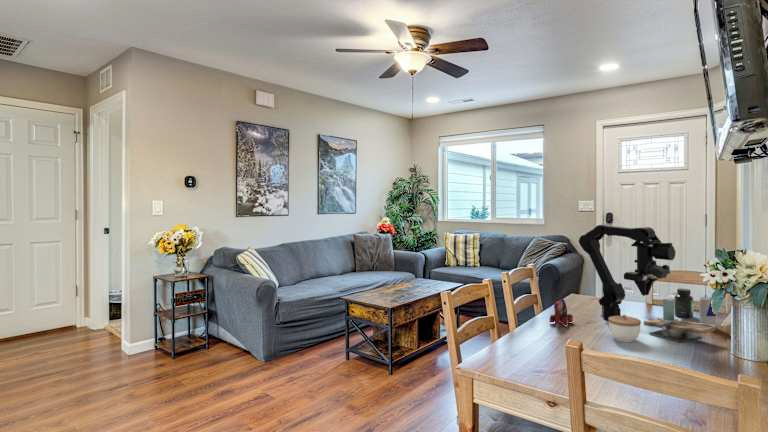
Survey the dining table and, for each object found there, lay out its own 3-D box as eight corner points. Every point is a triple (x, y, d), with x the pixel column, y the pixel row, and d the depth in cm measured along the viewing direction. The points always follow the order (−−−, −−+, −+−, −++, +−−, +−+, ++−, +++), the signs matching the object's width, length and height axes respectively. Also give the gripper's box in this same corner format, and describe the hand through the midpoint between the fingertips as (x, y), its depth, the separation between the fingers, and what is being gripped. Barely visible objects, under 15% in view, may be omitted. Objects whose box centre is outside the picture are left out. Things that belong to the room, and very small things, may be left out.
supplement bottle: (697, 318, 186) (697, 291, 185) (681, 318, 186) (681, 291, 185) (686, 314, 192) (686, 287, 192) (671, 314, 193) (670, 288, 192)
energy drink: (719, 330, 169) (719, 300, 169) (703, 329, 170) (703, 299, 170) (711, 326, 174) (711, 297, 174) (696, 325, 175) (696, 296, 175)
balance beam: (644, 325, 170) (643, 320, 170) (658, 322, 174) (658, 317, 174) (700, 334, 151) (700, 329, 151) (715, 330, 155) (715, 325, 155)
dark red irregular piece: (574, 321, 186) (574, 298, 186) (564, 328, 177) (564, 304, 176) (558, 319, 191) (557, 296, 190) (548, 326, 181) (547, 301, 181)
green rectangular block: (658, 322, 166) (658, 300, 166) (669, 319, 169) (668, 298, 168) (668, 324, 163) (668, 302, 163) (678, 322, 165) (678, 300, 165)
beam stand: (649, 334, 166) (649, 321, 166) (672, 329, 172) (672, 316, 171) (678, 343, 156) (678, 328, 156) (702, 337, 162) (702, 323, 161)
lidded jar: (643, 345, 155) (643, 319, 154) (610, 342, 158) (610, 317, 158) (637, 336, 165) (637, 312, 164) (606, 334, 168) (606, 310, 168)
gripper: (649, 262, 164) (649, 302, 165) (679, 258, 172) (679, 296, 173) (622, 258, 175) (622, 296, 175) (652, 255, 182) (652, 291, 183)
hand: (645, 295), depth 176 cm, fingers closed
